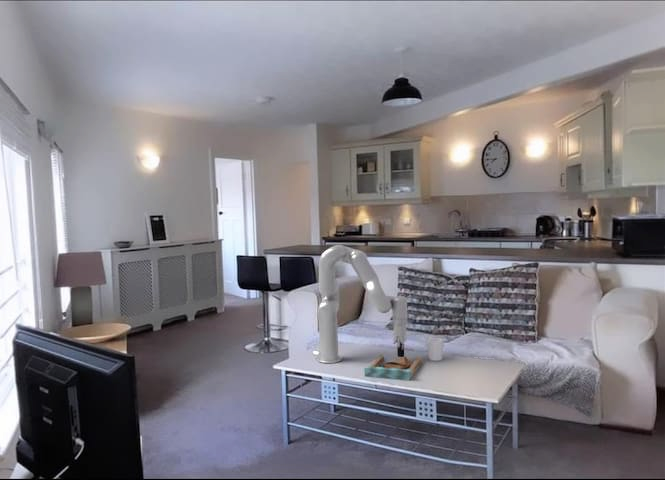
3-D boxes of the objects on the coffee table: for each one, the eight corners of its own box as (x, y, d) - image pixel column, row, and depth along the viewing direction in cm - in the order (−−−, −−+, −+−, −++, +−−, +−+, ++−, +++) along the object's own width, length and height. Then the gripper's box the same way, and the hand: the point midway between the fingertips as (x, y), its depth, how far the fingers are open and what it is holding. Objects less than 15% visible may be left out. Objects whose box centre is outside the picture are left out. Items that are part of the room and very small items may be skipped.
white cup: (443, 361, 247) (443, 341, 246) (427, 361, 248) (427, 341, 248) (443, 357, 255) (442, 337, 254) (427, 356, 256) (427, 337, 256)
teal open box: (364, 376, 228) (364, 367, 228) (380, 360, 253) (380, 352, 253) (409, 380, 220) (409, 371, 220) (421, 363, 245) (421, 355, 245)
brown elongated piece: (395, 374, 229) (389, 360, 232) (385, 378, 234) (379, 365, 236) (418, 365, 242) (412, 352, 244) (408, 370, 246) (403, 357, 249)
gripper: (396, 317, 257) (397, 352, 258) (389, 323, 243) (390, 360, 244) (410, 318, 255) (411, 353, 256) (404, 324, 241) (405, 361, 242)
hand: (400, 356), depth 250 cm, fingers closed
